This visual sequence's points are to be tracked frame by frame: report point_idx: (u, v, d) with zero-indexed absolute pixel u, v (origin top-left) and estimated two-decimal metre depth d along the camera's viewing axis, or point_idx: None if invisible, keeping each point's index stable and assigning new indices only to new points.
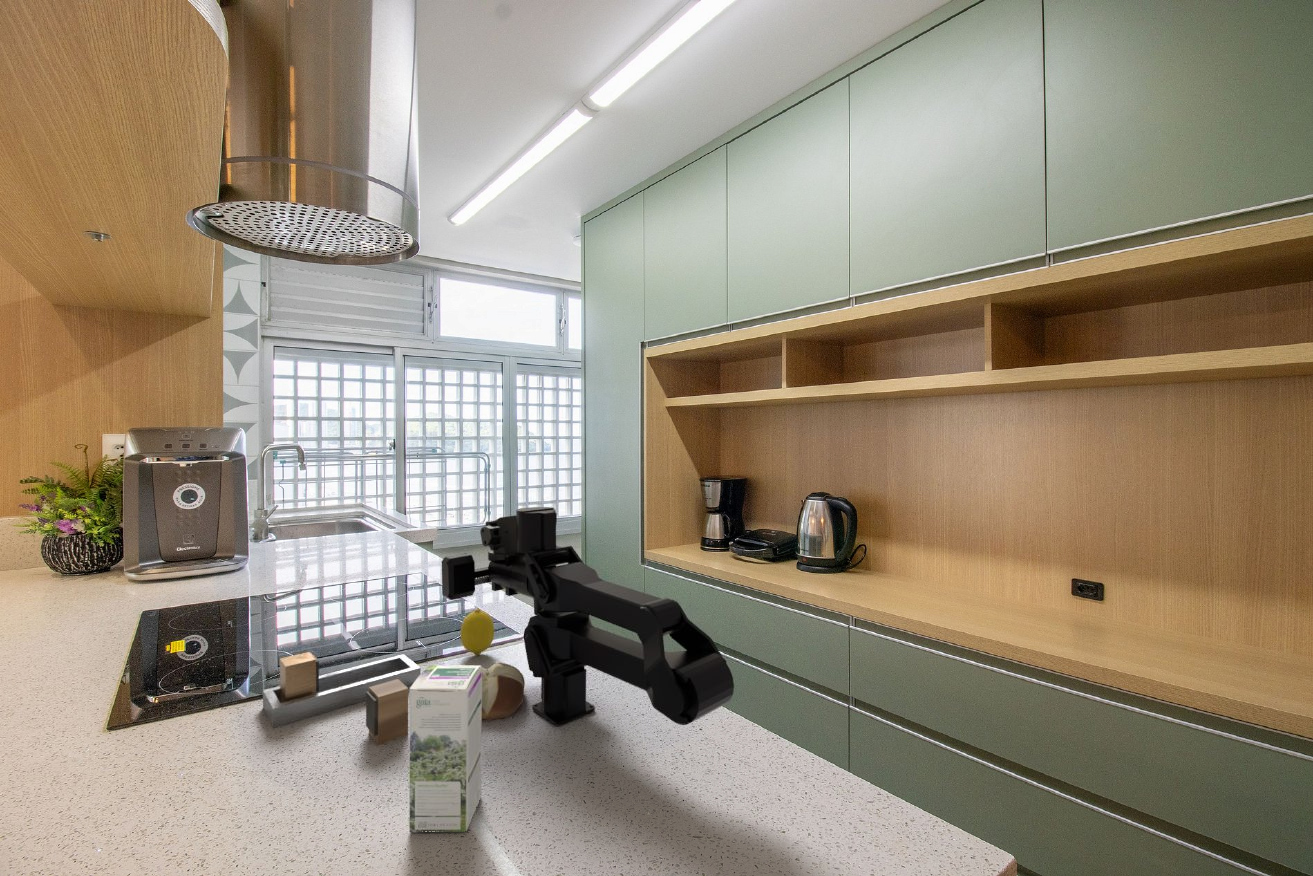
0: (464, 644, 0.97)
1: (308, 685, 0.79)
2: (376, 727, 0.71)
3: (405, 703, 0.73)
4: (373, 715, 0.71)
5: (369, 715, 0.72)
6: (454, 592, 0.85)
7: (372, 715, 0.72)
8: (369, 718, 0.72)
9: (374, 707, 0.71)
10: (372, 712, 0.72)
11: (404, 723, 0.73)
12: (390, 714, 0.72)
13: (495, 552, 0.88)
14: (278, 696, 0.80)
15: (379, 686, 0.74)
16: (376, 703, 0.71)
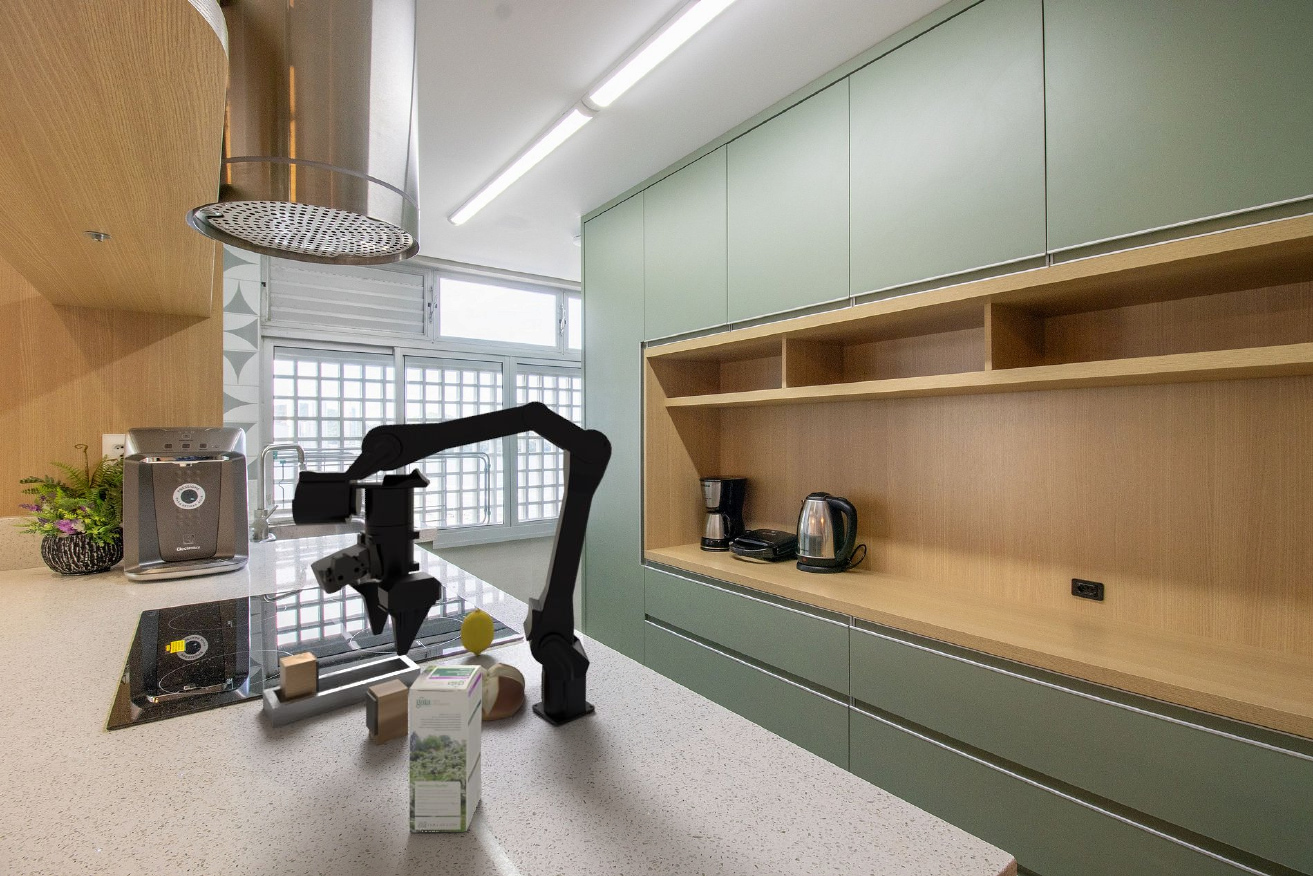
0: (464, 644, 0.97)
1: (308, 685, 0.79)
2: (376, 727, 0.71)
3: (405, 703, 0.73)
4: (373, 715, 0.71)
5: (369, 715, 0.72)
6: (430, 577, 0.68)
7: (372, 715, 0.72)
8: (369, 718, 0.72)
9: (374, 707, 0.71)
10: (372, 712, 0.72)
11: (404, 723, 0.73)
12: (390, 714, 0.72)
13: (368, 563, 0.69)
14: (278, 696, 0.80)
15: (379, 686, 0.74)
16: (375, 703, 0.71)
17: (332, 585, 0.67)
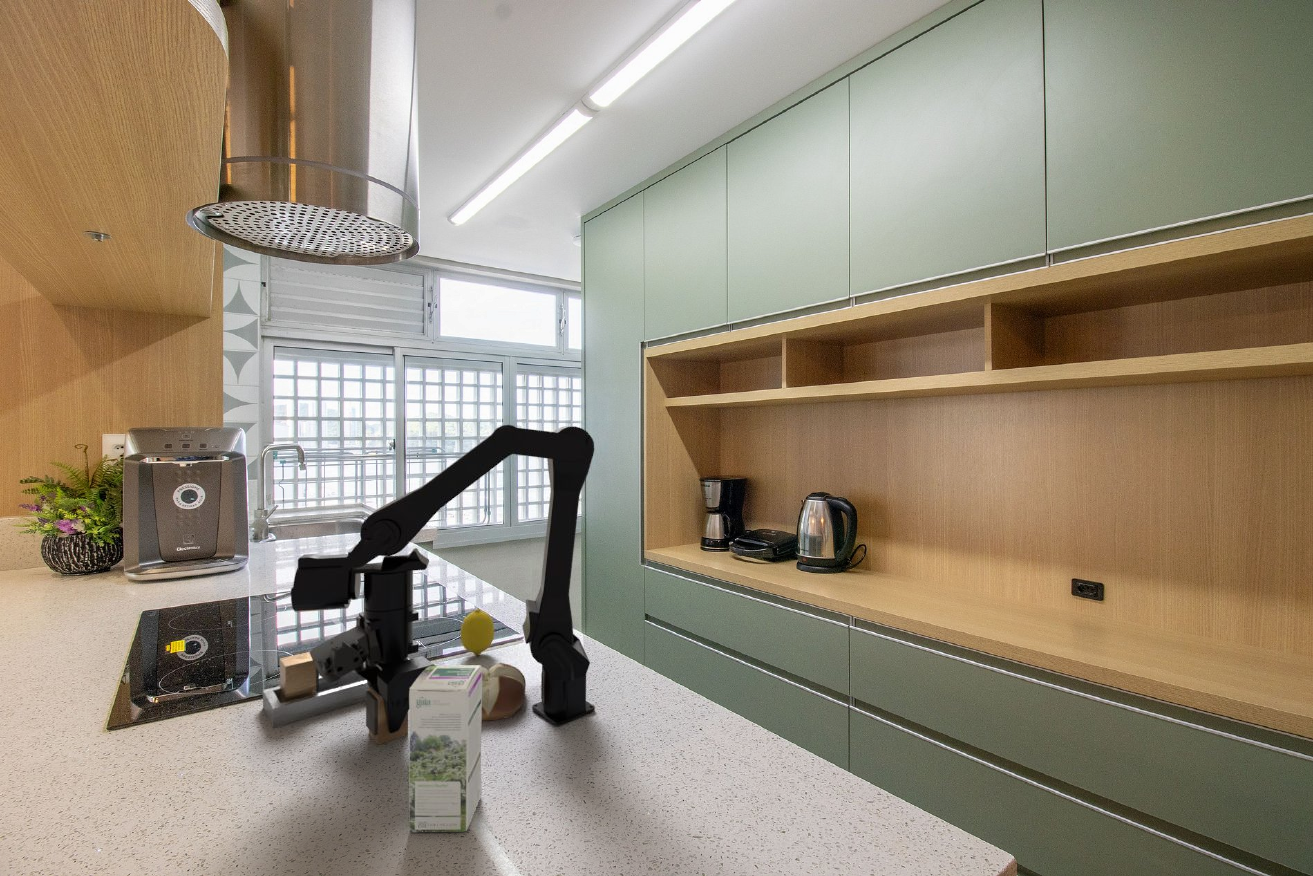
0: (464, 644, 0.97)
1: (308, 685, 0.79)
2: (376, 727, 0.71)
3: None
4: (373, 715, 0.71)
5: (369, 715, 0.72)
6: (429, 665, 0.68)
7: (372, 715, 0.72)
8: (369, 718, 0.72)
9: (374, 707, 0.71)
10: (372, 712, 0.72)
11: (404, 723, 0.73)
12: None
13: (367, 650, 0.69)
14: (278, 696, 0.80)
15: None
16: (375, 702, 0.71)
17: (331, 675, 0.67)
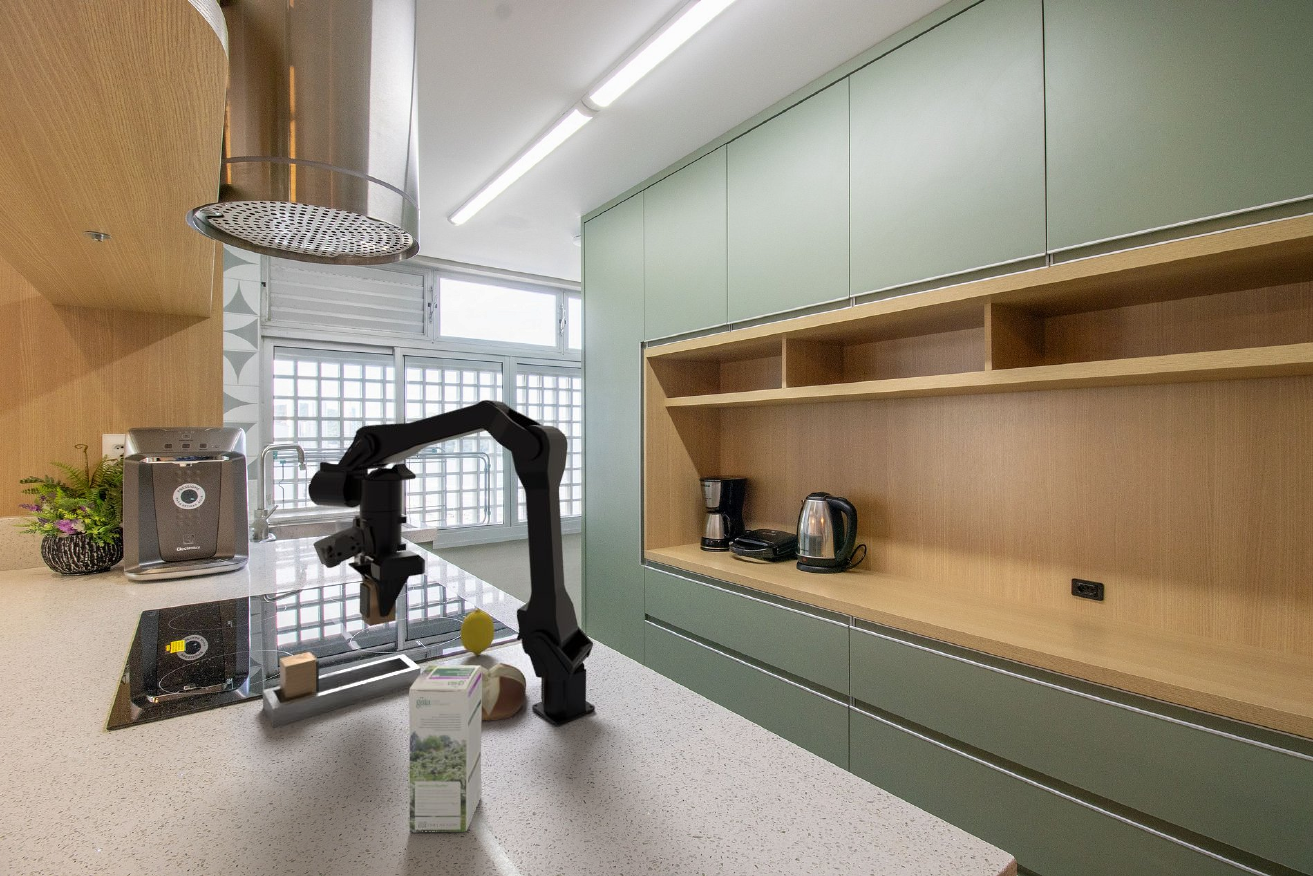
0: (464, 644, 0.97)
1: (308, 685, 0.79)
2: (368, 611, 0.84)
3: None
4: (366, 600, 0.84)
5: (363, 602, 0.85)
6: (415, 555, 0.81)
7: (365, 601, 0.84)
8: (362, 604, 0.85)
9: (367, 593, 0.83)
10: (365, 598, 0.84)
11: (392, 610, 0.86)
12: None
13: (362, 543, 0.82)
14: (278, 696, 0.80)
15: None
16: (368, 590, 0.83)
17: (332, 560, 0.79)
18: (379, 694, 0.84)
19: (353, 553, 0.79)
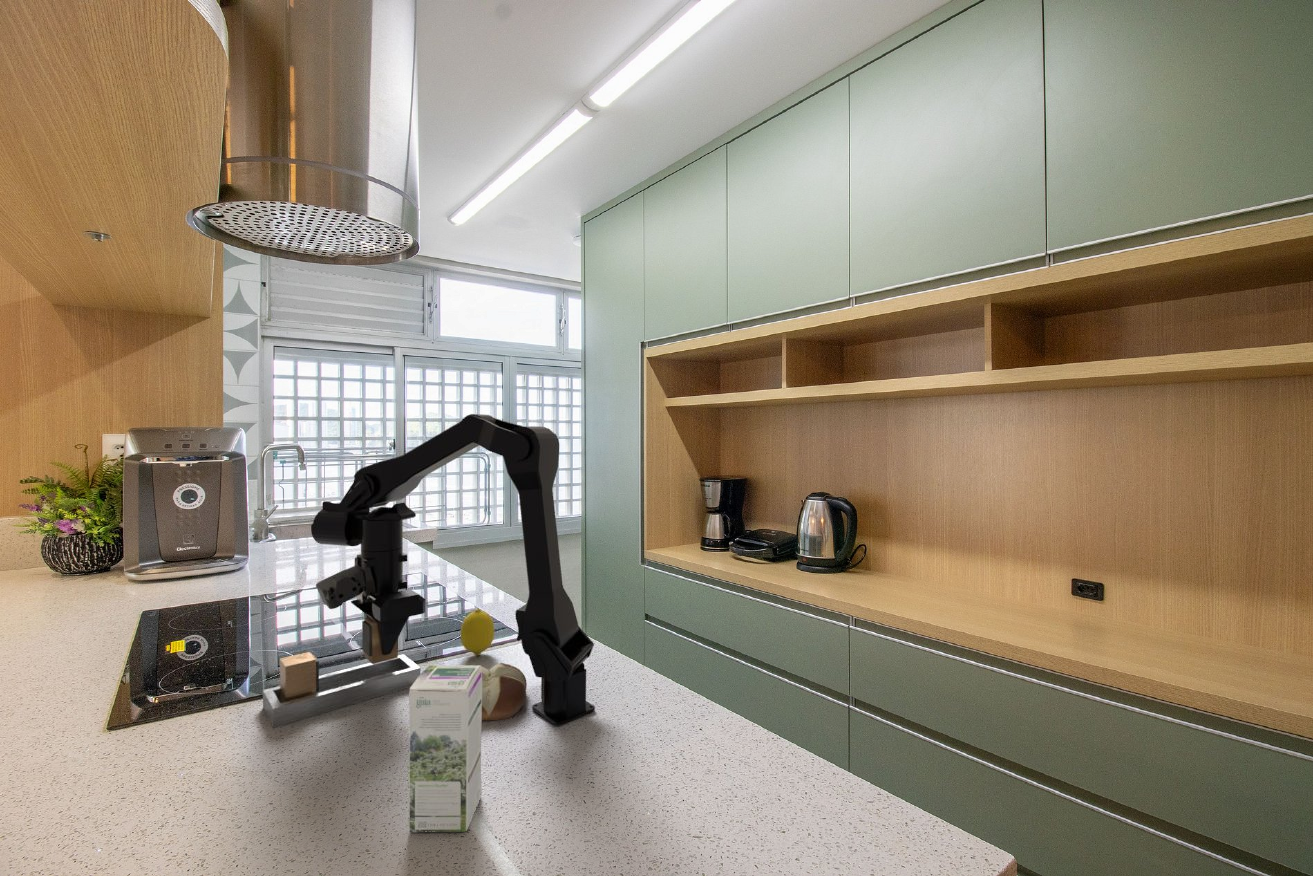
0: (464, 644, 0.97)
1: (308, 685, 0.79)
2: (370, 649, 0.85)
3: None
4: (368, 639, 0.85)
5: (365, 640, 0.86)
6: (415, 594, 0.82)
7: (367, 640, 0.85)
8: (365, 642, 0.86)
9: (369, 632, 0.85)
10: (367, 637, 0.85)
11: (394, 648, 0.87)
12: None
13: (364, 583, 0.83)
14: (278, 696, 0.80)
15: None
16: (370, 628, 0.85)
17: (334, 602, 0.80)
18: (379, 694, 0.84)
19: (354, 594, 0.81)
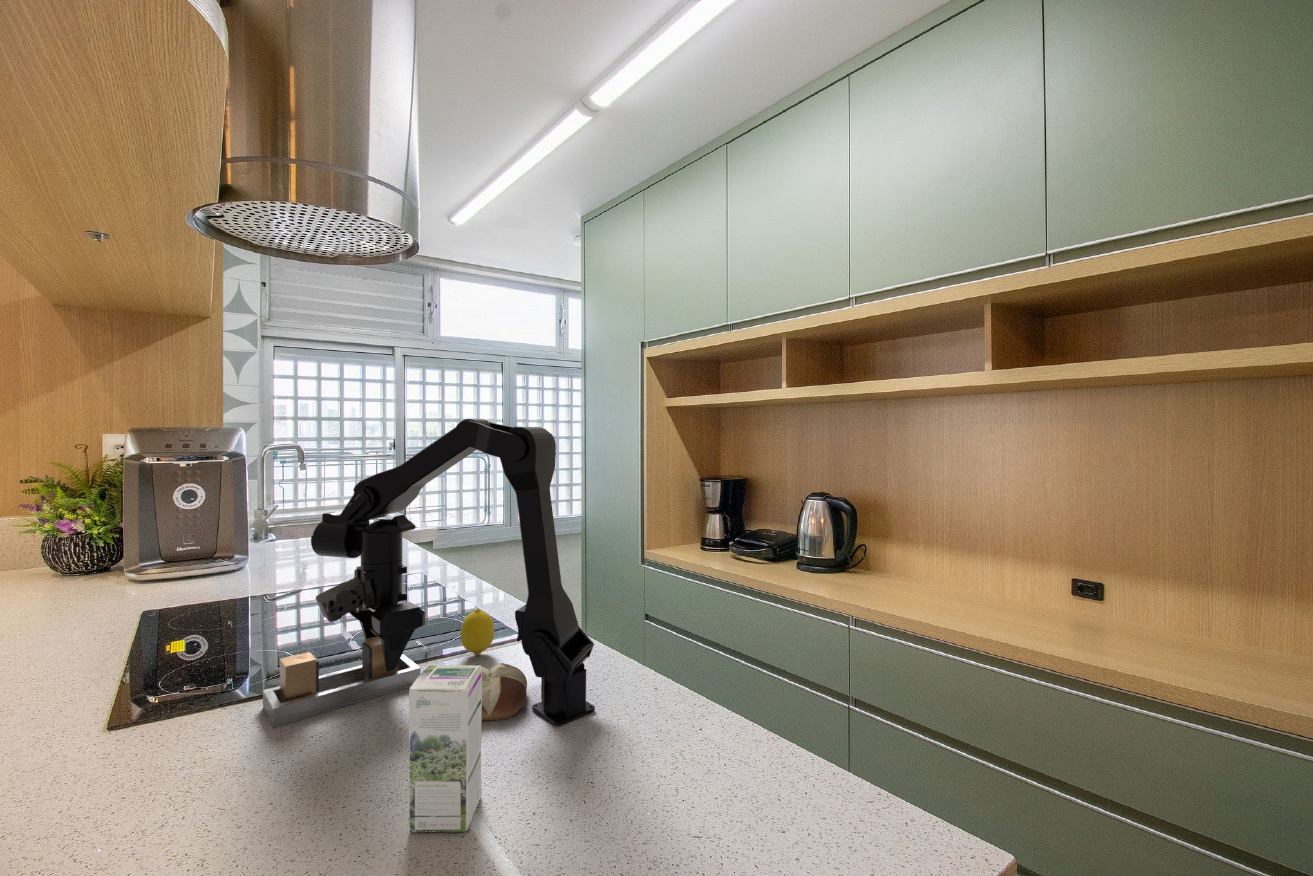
0: (464, 644, 0.97)
1: (308, 685, 0.79)
2: (370, 671, 0.85)
3: None
4: (368, 661, 0.85)
5: (365, 662, 0.86)
6: (415, 607, 0.82)
7: (367, 662, 0.85)
8: (365, 664, 0.86)
9: (369, 654, 0.85)
10: (367, 659, 0.85)
11: (394, 669, 0.87)
12: (382, 660, 0.86)
13: (363, 595, 0.83)
14: (278, 696, 0.80)
15: (373, 638, 0.87)
16: (370, 650, 0.85)
17: (333, 615, 0.81)
18: (379, 694, 0.84)
19: (354, 607, 0.81)
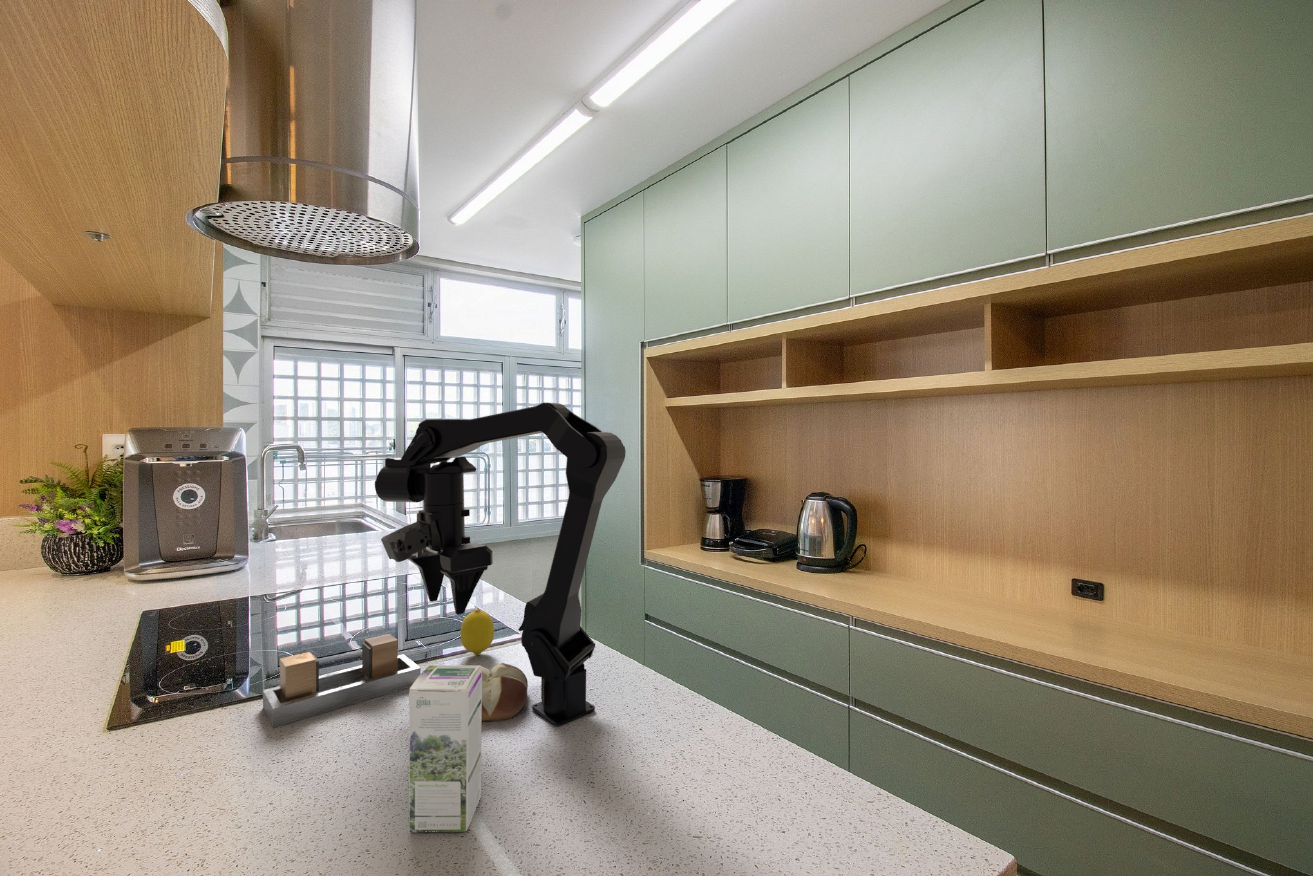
0: (464, 644, 0.97)
1: (308, 685, 0.79)
2: (370, 671, 0.85)
3: (395, 653, 0.87)
4: (368, 661, 0.85)
5: (365, 662, 0.86)
6: (483, 546, 0.81)
7: (367, 662, 0.85)
8: (365, 664, 0.86)
9: (369, 654, 0.85)
10: (367, 659, 0.85)
11: (394, 669, 0.87)
12: (382, 660, 0.86)
13: (429, 536, 0.82)
14: (278, 696, 0.80)
15: (373, 638, 0.87)
16: (370, 650, 0.85)
17: (401, 554, 0.79)
18: (379, 694, 0.84)
19: (422, 546, 0.80)
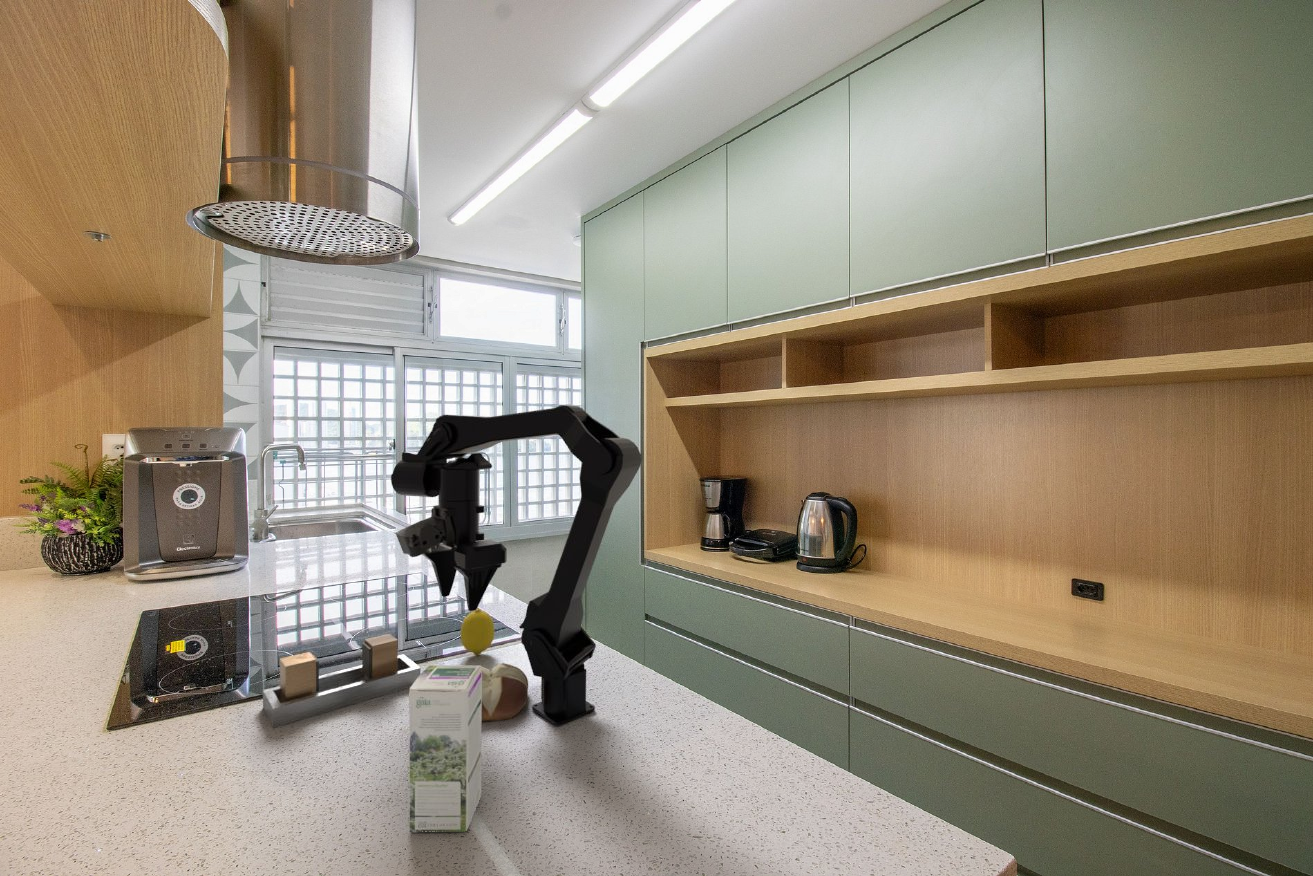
0: (464, 644, 0.97)
1: (308, 685, 0.79)
2: (370, 671, 0.85)
3: (395, 653, 0.87)
4: (368, 661, 0.85)
5: (365, 662, 0.86)
6: (498, 543, 0.81)
7: (367, 662, 0.85)
8: (365, 664, 0.86)
9: (369, 654, 0.85)
10: (367, 659, 0.85)
11: (394, 669, 0.87)
12: (382, 660, 0.86)
13: (444, 532, 0.82)
14: (278, 696, 0.80)
15: (373, 638, 0.87)
16: (370, 650, 0.85)
17: (416, 549, 0.79)
18: (379, 694, 0.84)
19: (437, 542, 0.79)
